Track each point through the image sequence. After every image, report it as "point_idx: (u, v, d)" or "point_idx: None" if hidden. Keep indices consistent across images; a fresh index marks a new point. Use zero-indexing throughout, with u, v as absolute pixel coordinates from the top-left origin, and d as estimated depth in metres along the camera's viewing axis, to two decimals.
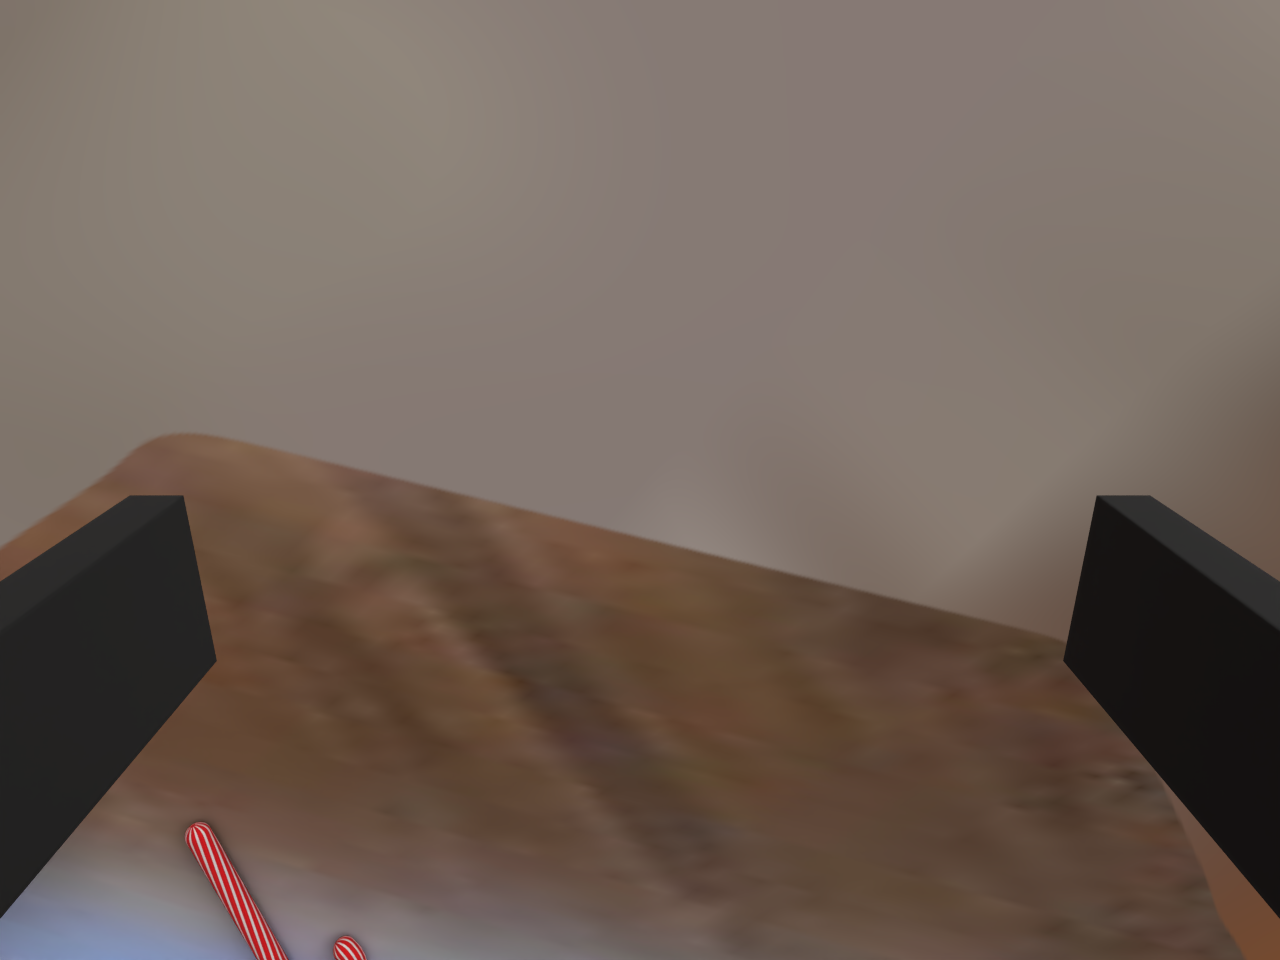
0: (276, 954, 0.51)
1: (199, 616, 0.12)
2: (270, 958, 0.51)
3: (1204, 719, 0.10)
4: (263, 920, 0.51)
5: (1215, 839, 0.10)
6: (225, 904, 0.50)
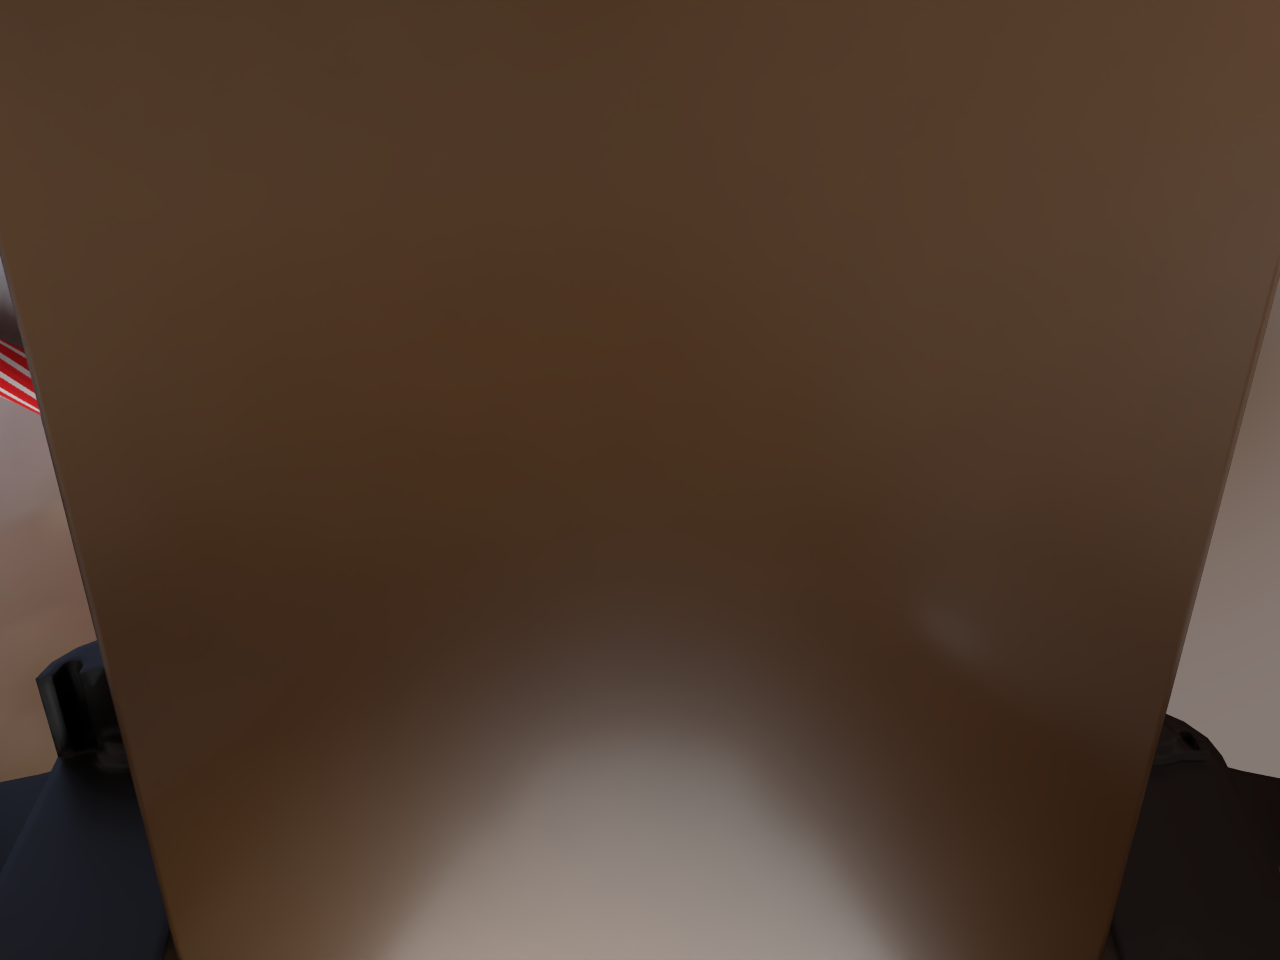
0: None
1: None
2: None
3: None
4: None
5: None
6: None
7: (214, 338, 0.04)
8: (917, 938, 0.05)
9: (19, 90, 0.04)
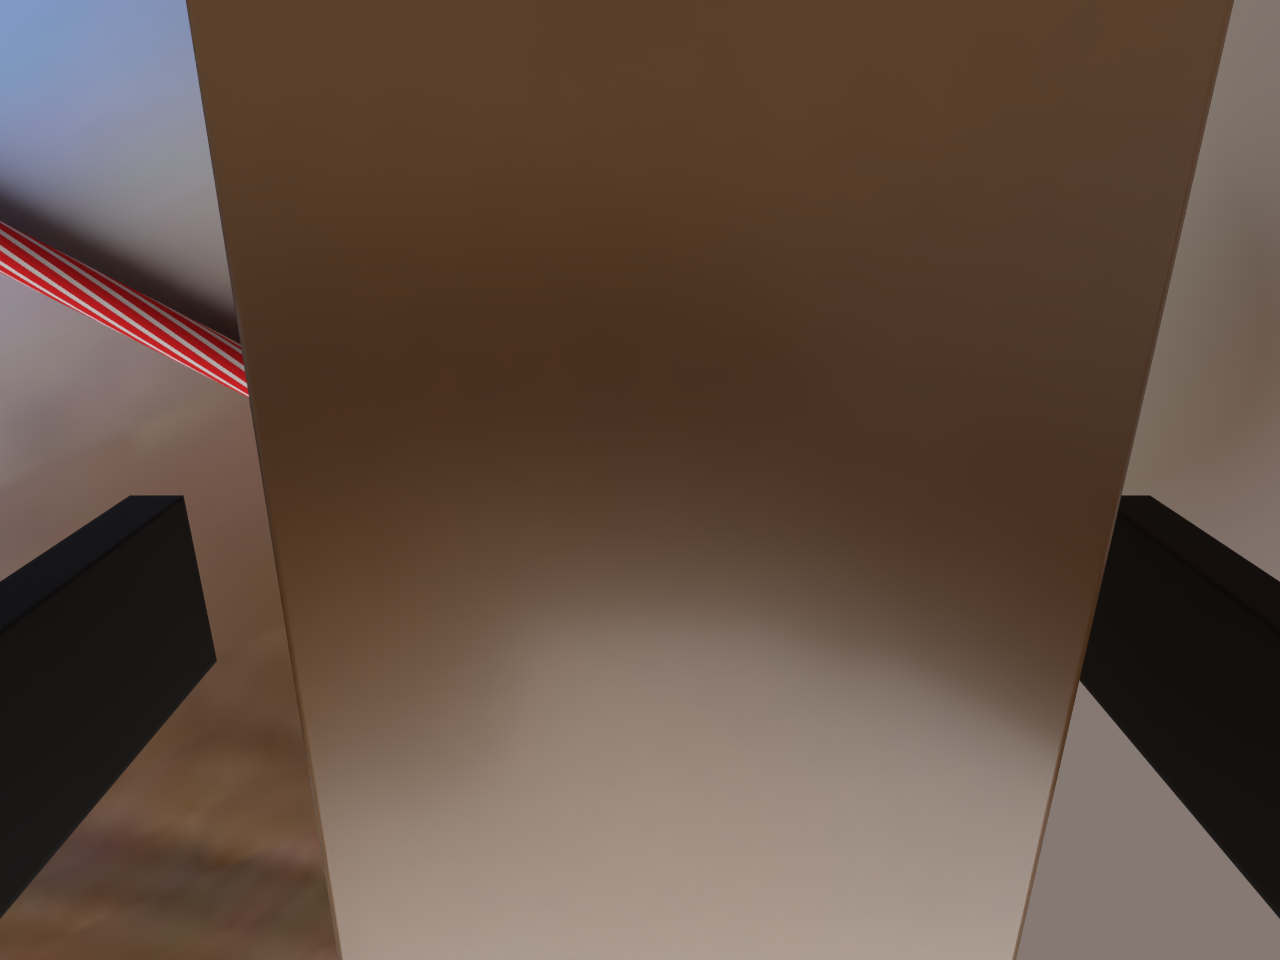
0: None
1: (199, 616, 0.12)
2: None
3: (1204, 719, 0.10)
4: None
5: (1215, 839, 0.10)
6: (154, 326, 0.26)
7: (355, 80, 0.05)
8: (924, 647, 0.06)
9: None
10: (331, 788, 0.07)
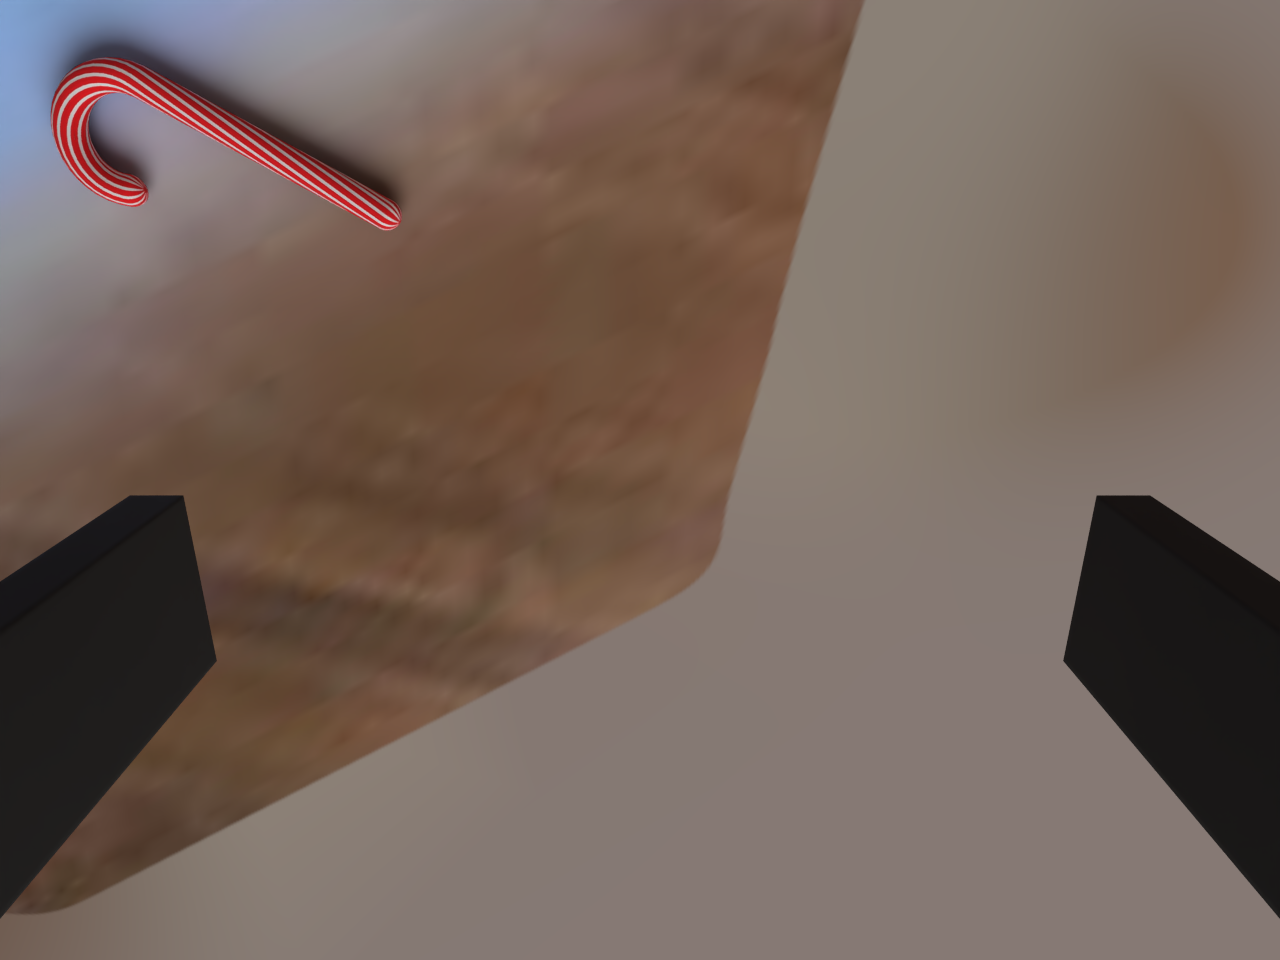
0: (176, 119, 0.37)
1: (199, 616, 0.12)
2: (176, 114, 0.36)
3: (1204, 719, 0.10)
4: None
5: (1215, 839, 0.10)
6: (284, 156, 0.37)
7: None
8: None
9: None
10: None
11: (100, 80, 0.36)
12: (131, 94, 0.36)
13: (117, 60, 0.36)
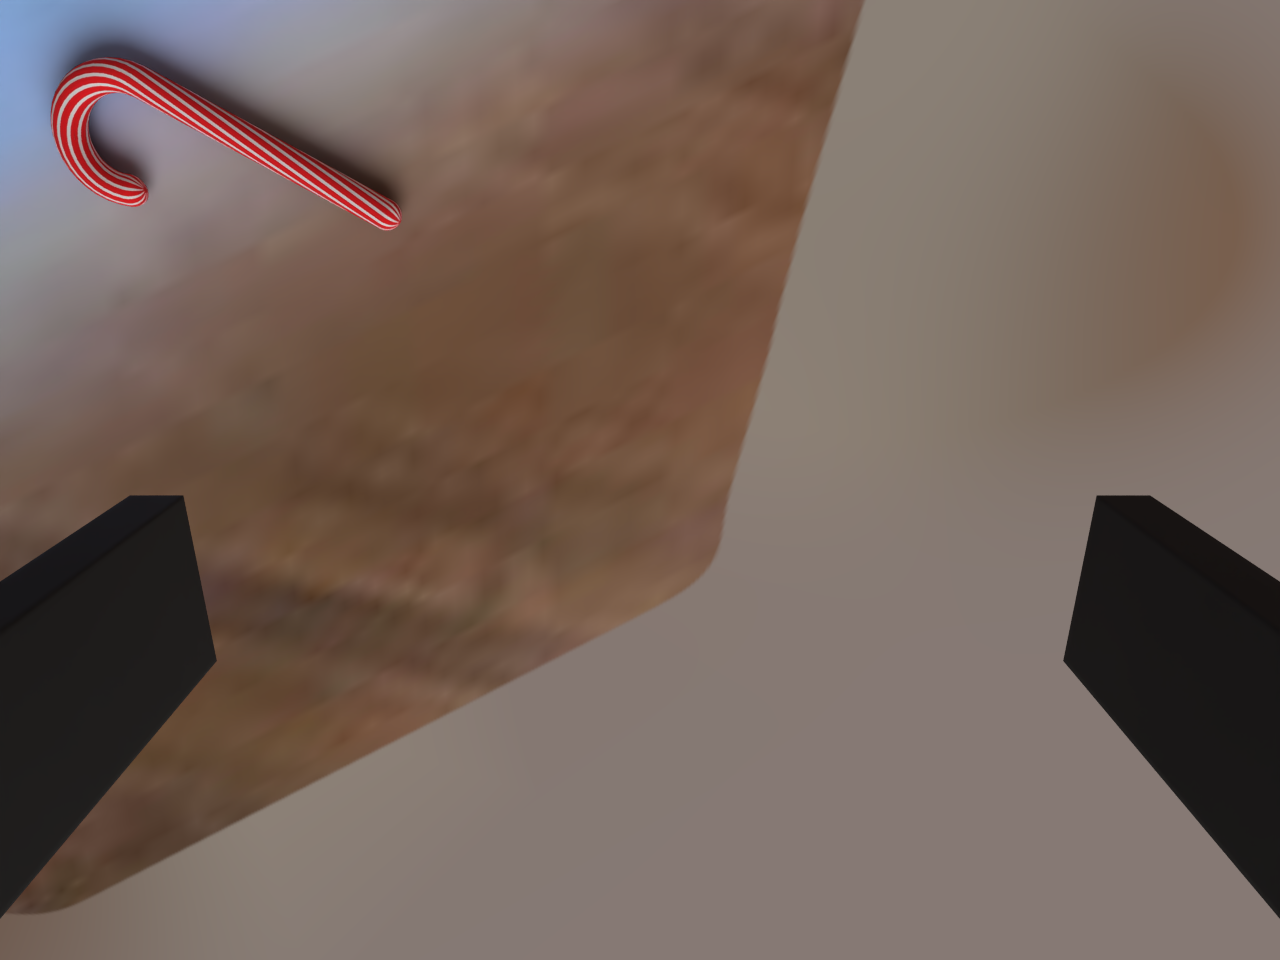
0: (176, 119, 0.37)
1: (199, 616, 0.12)
2: (176, 114, 0.36)
3: (1204, 719, 0.10)
4: None
5: (1215, 839, 0.10)
6: (284, 156, 0.37)
7: None
8: None
9: None
10: None
11: (100, 80, 0.36)
12: (131, 94, 0.36)
13: (117, 60, 0.36)
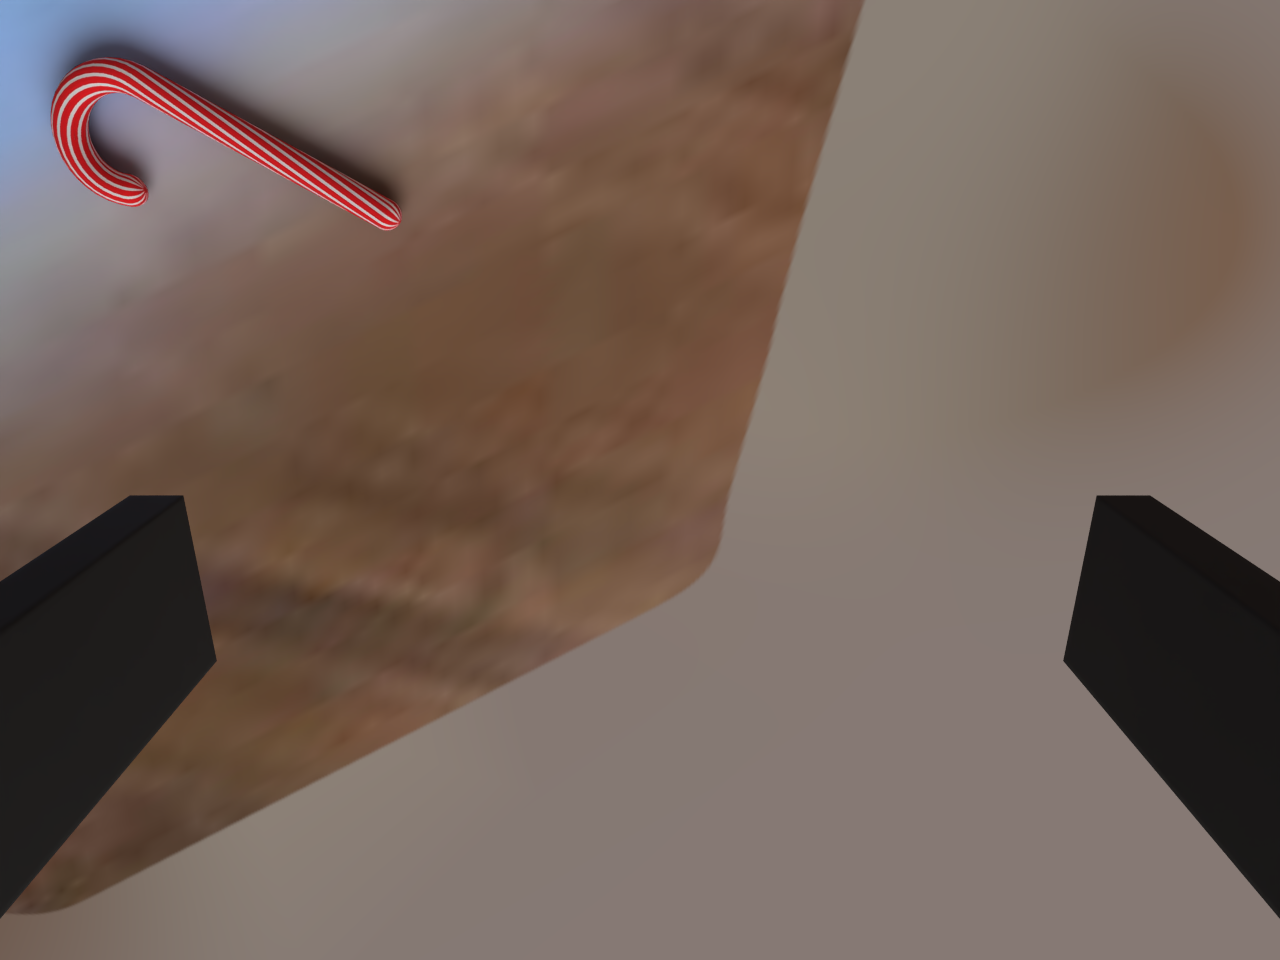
0: (176, 119, 0.37)
1: (199, 616, 0.12)
2: (176, 114, 0.36)
3: (1204, 719, 0.10)
4: None
5: (1215, 839, 0.10)
6: (284, 156, 0.37)
7: None
8: None
9: None
10: None
11: (100, 80, 0.36)
12: (131, 94, 0.36)
13: (117, 60, 0.36)
